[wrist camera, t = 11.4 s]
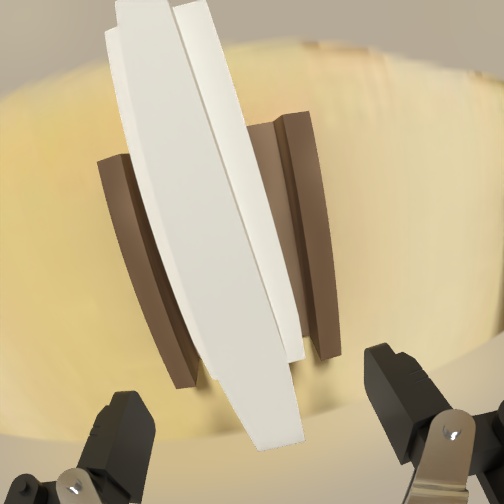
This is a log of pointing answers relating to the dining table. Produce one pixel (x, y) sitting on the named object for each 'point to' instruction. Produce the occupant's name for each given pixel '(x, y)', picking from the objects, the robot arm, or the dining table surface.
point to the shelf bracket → (209, 208)
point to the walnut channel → (287, 227)
